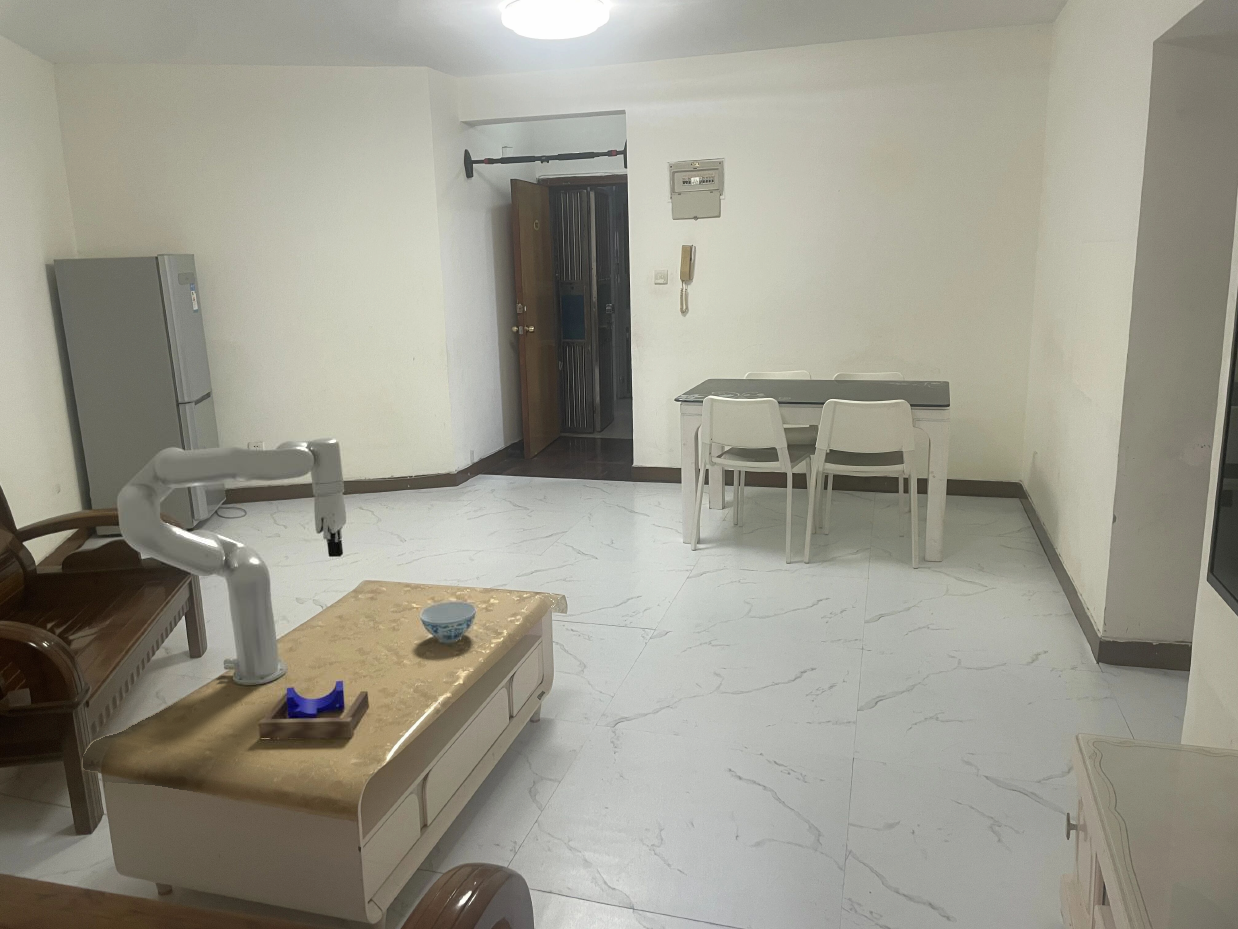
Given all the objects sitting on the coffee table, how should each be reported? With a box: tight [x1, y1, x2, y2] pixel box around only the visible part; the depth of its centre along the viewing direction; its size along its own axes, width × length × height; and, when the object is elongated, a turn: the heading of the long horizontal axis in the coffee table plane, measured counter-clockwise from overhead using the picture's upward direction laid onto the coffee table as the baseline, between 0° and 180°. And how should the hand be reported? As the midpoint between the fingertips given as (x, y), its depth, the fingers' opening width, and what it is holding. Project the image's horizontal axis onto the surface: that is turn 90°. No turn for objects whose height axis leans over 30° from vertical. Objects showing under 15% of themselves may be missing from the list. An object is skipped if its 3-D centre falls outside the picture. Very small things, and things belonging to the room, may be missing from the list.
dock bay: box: [257, 690, 370, 740], centre depth 189 cm, size 20×14×4 cm
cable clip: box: [286, 680, 346, 719], centre depth 192 cm, size 12×4×6 cm, turn 109°
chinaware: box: [419, 600, 477, 644], centre depth 232 cm, size 15×15×8 cm
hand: (335, 555), depth 220 cm, fingers closed
